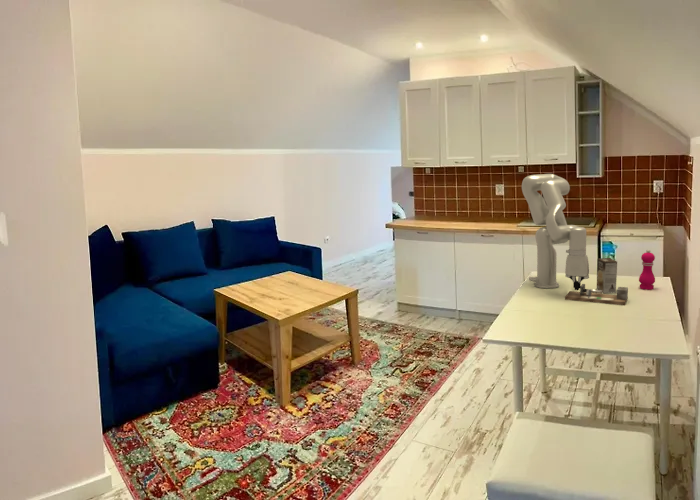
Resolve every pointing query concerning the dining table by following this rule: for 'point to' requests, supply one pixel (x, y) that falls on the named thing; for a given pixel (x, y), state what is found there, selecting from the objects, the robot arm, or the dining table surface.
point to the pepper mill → (647, 271)
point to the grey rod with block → (583, 290)
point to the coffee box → (606, 275)
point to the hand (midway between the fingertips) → (576, 289)
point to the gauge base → (601, 297)
